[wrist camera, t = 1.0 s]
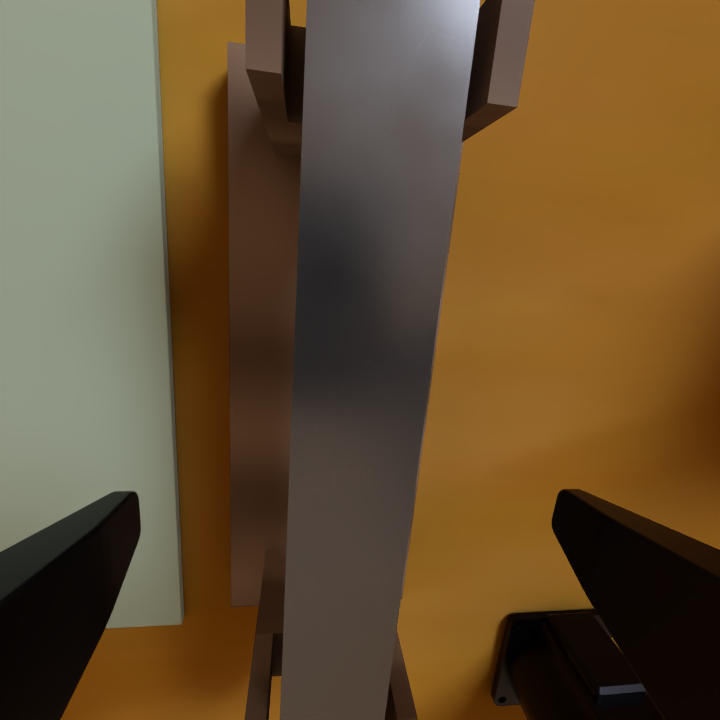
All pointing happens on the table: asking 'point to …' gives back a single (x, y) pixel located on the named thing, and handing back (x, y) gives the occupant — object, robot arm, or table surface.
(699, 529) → the table surface
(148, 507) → the rubber mat
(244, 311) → the hook stand
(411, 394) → the hang rail
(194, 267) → the table surface
